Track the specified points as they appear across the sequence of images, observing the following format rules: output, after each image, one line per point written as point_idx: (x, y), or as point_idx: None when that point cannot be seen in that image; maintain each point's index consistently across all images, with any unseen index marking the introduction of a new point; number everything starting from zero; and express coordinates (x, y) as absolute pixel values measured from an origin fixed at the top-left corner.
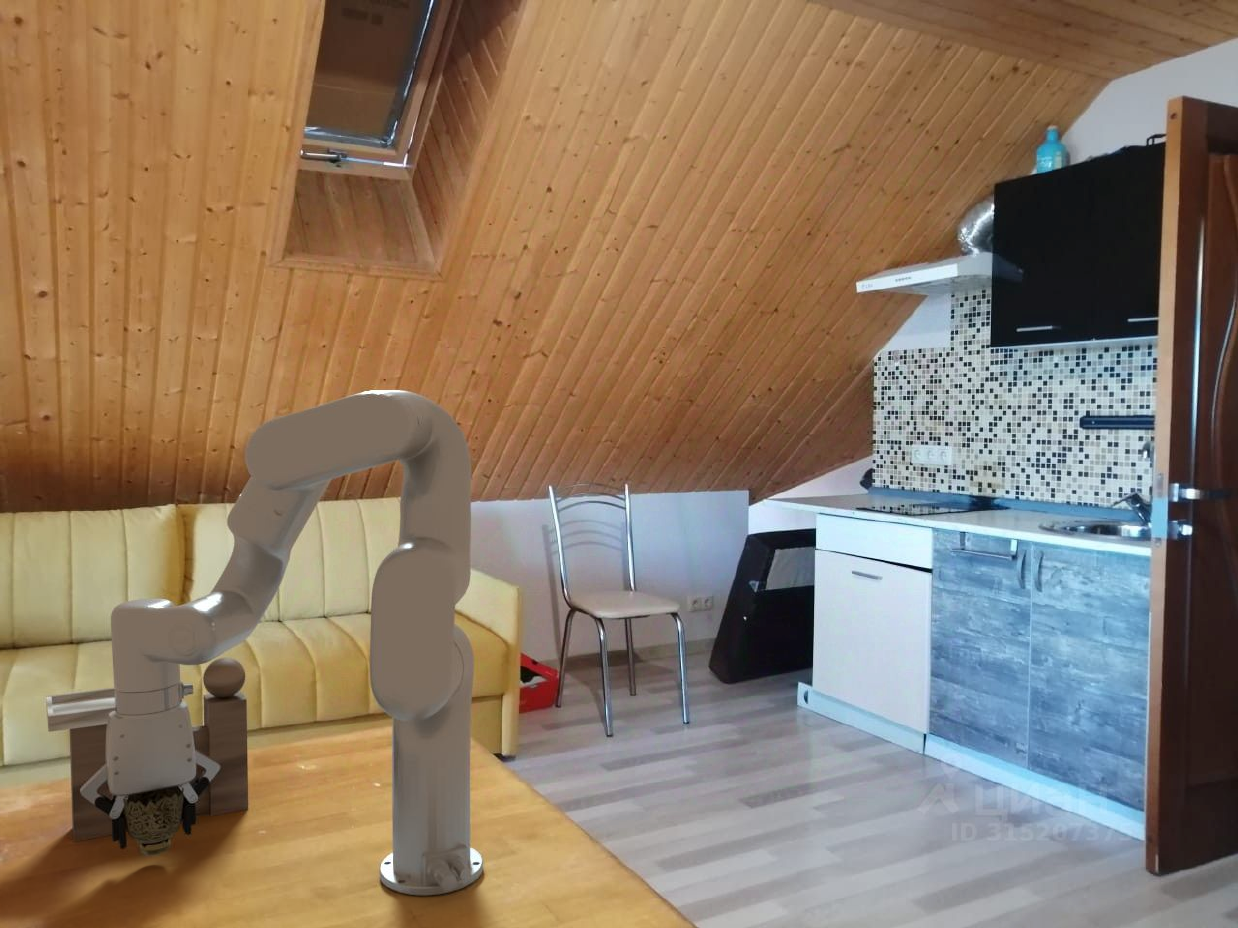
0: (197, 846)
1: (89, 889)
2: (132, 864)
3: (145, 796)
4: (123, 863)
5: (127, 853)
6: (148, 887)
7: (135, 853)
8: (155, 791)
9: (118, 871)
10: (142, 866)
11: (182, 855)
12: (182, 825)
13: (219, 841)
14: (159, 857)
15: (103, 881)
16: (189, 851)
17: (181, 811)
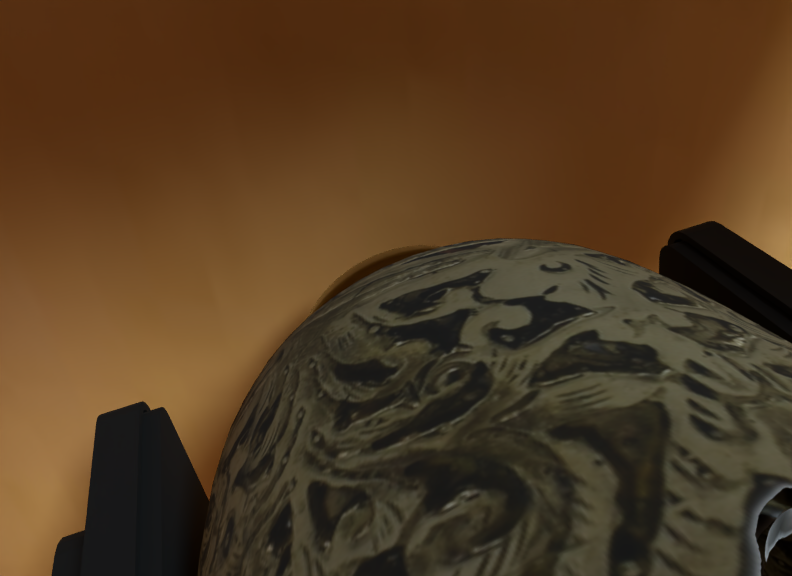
0: (639, 61)
1: (21, 563)
2: (210, 275)
3: (488, 447)
4: (132, 247)
5: (104, 52)
6: None
7: (182, 72)
8: (691, 423)
9: (135, 365)
10: (290, 314)
11: (535, 193)
12: (670, 266)
13: (780, 10)
14: (388, 194)
15: (76, 482)
16: (582, 137)
17: (780, 569)
